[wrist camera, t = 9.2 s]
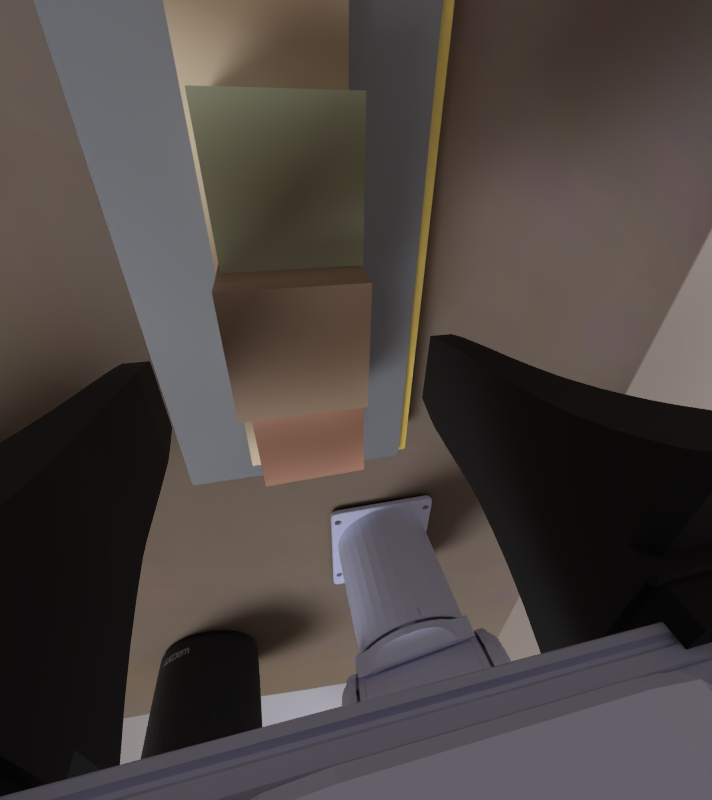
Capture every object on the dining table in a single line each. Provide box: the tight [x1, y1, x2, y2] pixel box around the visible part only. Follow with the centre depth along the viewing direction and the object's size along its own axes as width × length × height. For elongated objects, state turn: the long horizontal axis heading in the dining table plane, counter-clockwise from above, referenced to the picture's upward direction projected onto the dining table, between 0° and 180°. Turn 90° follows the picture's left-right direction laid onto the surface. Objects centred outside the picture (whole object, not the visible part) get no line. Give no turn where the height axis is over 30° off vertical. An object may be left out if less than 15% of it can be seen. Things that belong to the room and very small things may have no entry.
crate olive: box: [185, 85, 366, 274], centre depth 11 cm, size 4×4×4 cm
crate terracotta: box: [252, 408, 364, 486], centre depth 16 cm, size 4×4×4 cm
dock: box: [33, 0, 455, 485], centre depth 18 cm, size 22×13×2 cm, turn 179°
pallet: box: [163, 0, 372, 466], centre depth 14 cm, size 18×5×7 cm, turn 179°
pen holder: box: [141, 631, 262, 759], centre depth 33 cm, size 9×9×10 cm
